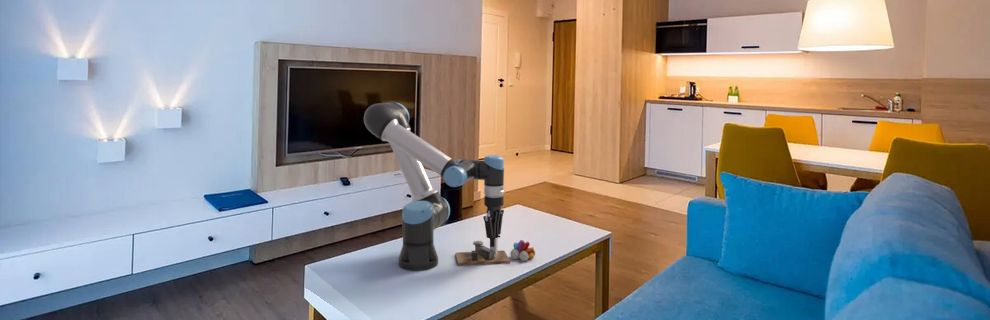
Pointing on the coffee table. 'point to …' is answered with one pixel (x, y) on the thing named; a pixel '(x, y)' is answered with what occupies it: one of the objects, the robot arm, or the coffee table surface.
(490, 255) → the bar
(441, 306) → the coffee table surface
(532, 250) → the multicolored petal toy
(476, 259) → the board
